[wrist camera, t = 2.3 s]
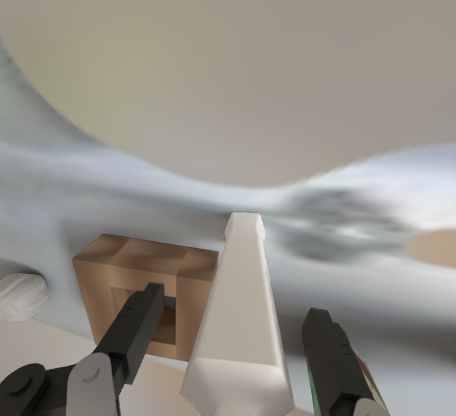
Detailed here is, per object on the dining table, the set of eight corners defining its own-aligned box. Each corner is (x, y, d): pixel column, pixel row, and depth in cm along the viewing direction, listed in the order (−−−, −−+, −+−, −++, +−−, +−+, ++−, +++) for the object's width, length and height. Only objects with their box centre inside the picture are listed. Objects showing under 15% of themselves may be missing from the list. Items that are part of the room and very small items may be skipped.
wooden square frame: (218, 251, 20) (211, 281, 17) (209, 328, 25) (203, 364, 22) (102, 233, 21) (71, 258, 17) (117, 312, 26) (95, 344, 22)
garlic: (36, 302, 27) (-9, 342, 22) (4, 272, 25) (-53, 308, 20) (69, 292, 25) (27, 332, 21) (37, 259, 24) (-16, 295, 19)
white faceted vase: (212, 213, 19) (108, 484, 5) (259, 201, 18) (288, 497, 4) (228, 253, 20) (181, 535, 7) (272, 244, 19) (320, 553, 6)
